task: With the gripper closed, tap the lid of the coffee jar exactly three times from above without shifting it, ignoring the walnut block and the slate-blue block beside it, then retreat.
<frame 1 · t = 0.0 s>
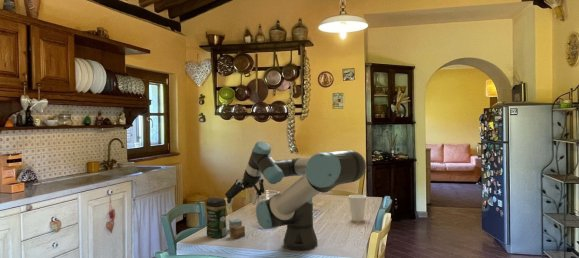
hand: (240, 205, 192), 15 cm above the table, tool tilted 35°, fingers open, 13 cm apart
coffee jar: (216, 236, 194), on the table
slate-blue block: (235, 230, 204), on the table
walnut block: (237, 237, 192), on the table
foam cup: (357, 220, 218), on the table
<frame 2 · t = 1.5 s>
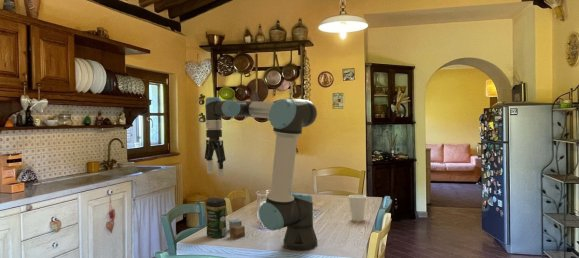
hand: (215, 174, 194), 30 cm above the table, tool pointing down, fingers open, 10 cm apart
nothing on the table moved.
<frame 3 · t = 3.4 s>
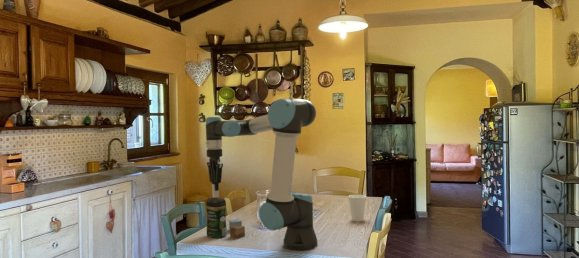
hand: (215, 197, 194), 19 cm above the table, tool pointing down, fingers closed
nothing on the table moved.
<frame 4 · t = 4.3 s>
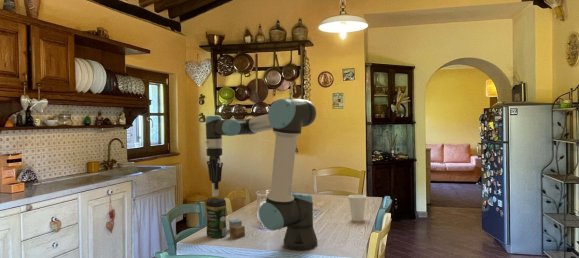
hand: (215, 195, 194), 20 cm above the table, tool pointing down, fingers closed
nothing on the table moved.
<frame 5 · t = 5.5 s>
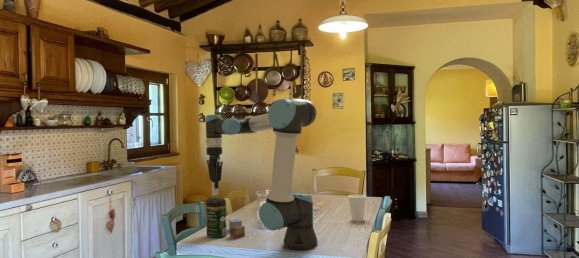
hand: (215, 194, 194), 20 cm above the table, tool pointing down, fingers closed
nothing on the table moved.
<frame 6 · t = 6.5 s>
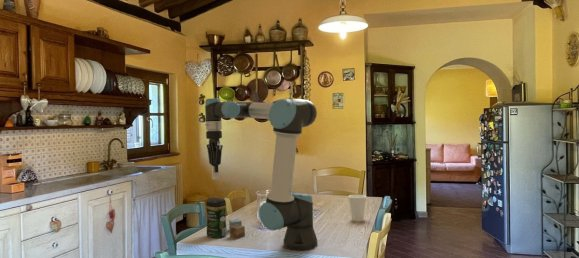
hand: (215, 178, 193), 28 cm above the table, tool pointing down, fingers closed
nothing on the table moved.
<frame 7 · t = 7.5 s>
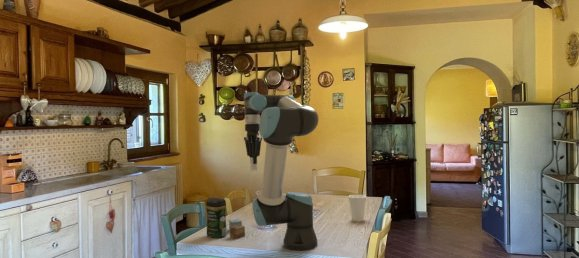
hand: (253, 170, 200), 31 cm above the table, tool pointing down, fingers closed
nothing on the table moved.
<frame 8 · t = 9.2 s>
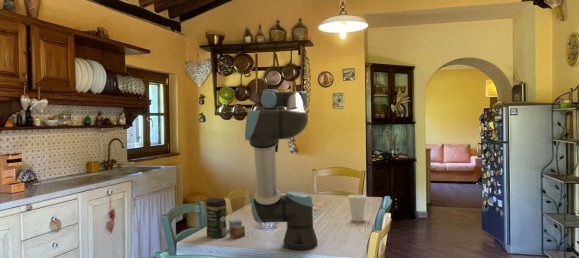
hand: (271, 165, 204), 32 cm above the table, tool pointing down, fingers closed
nothing on the table moved.
at the end: coffee jar moved 0.2 cm from its start; coffee jar tilted 0°; coffee jar touching table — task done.
